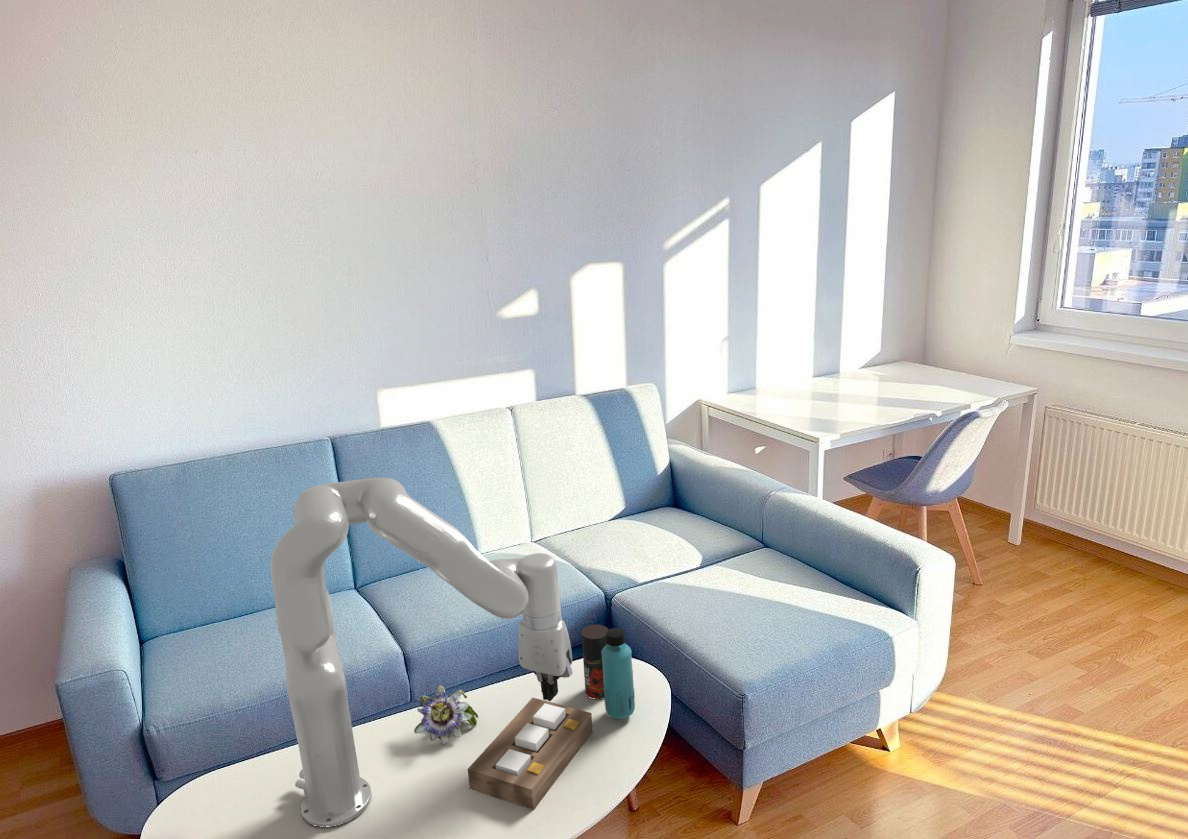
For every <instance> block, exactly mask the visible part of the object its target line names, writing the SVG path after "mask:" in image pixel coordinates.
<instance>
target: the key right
mask: <svg viewBox="0 0 1188 839" xmlns="http://www.w3.org/2000/svg"><path fill="white" fill-rule="evenodd" d="M565 717H566V712H565V708H561V707H557V706H553V705H549V704H546V703H545V704H544V705H543V706H542V707H541V708H540V709H539V710H538V712H537V713H536V714H535V715H534V716H533V722H534V725H538V726H541V727H545V728H548V729H552V730H555V729H556V728H557V726H558V725H559V724H560V723H561V722H562V720H563V719H564V718H565Z"/></svg>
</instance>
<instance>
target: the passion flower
mask: <svg viewBox="0 0 1188 839" xmlns="http://www.w3.org/2000/svg"><path fill="white" fill-rule="evenodd" d="M462 695H463V698H464V699H467V698H468V694H466V693H465V692H464V691H463V690H462V689H459V690H456V691H454V692H452V694H451V695H449V694H447V693H446V690H445V687H444V686H443V685H441V684H440V685H439V686H437V688H436V691H435V693H434V694H433V695H430V696H431V697H429V696H427V695H422V696H421V699H422V700H421V699H420V698H418V699H417V701H418V702H419V703H420V706H419V707H417V712H418V713H420V714H421V715H423V717H422V718H421V719H420V721H421V722H420V723H418V725H416V726H415V728H414V730H413V732H414V733H415V734H420V733H422V732H425V731H426V732H427V733H429V738H430V741H431V742H434V741H436V739H437V740H438V739H439V740H440V743H441V745H442V746H444V745H446V744H447V742H448V739H449V736H450V734H452V735H453V736H454V737H455V738H456V737H457V738H460V737H461V736H462V728H461V724H462V722H468V723H469V724H470V725H471V726H472V727H473V728H474V727H476V726H477V724H478V723H477V722H478V721H477V719H478V718H479V714H478V713H477V712H476V711H475V710H474V708H473V707H472V706H471V705H470V703H469V702H467V701H460V699H461V696H462ZM476 718H477V719H476Z"/></svg>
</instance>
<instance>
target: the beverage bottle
mask: <svg viewBox="0 0 1188 839" xmlns="http://www.w3.org/2000/svg"><path fill="white" fill-rule="evenodd" d="M606 643H607V645H606V646H605V647H604V648H603V649H602V664H603V683H604V684H603V685H604V689H603V690H604V691H603V693H604V699H603V702H604V708H605V709H604V710H605V712H606V713H607V715H608V716H609V717H611V718H614V719H625V718H628V717H630V716H632V715H633V714H634V711H635V709H636V700H635V684H634V669H633V661H632V660H633V659H632V658H633V657H632V649H631V647H630V646H629V645H628V644H627V643H626V633H625V631H624V630H623V629H622V628H618V627H613V628H608V631H607V632H606Z"/></svg>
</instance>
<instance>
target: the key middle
mask: <svg viewBox="0 0 1188 839" xmlns="http://www.w3.org/2000/svg"><path fill="white" fill-rule="evenodd" d="M548 737H549V731H548V729H547V728H543V727H539V726H536V725H532V724H529V723H527V724H526V725H525V726H524V728H523V729H522V730H521V731H520V732H519V733H518V734H517V736H516V737H515V745H516V746H519V747H522V748H526V749H529V750H533V751H536V752H537V751H538V750H539V748H540V747H541V746H542V745H543V743H544V742H545V741H546V740H547V739H548Z"/></svg>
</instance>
